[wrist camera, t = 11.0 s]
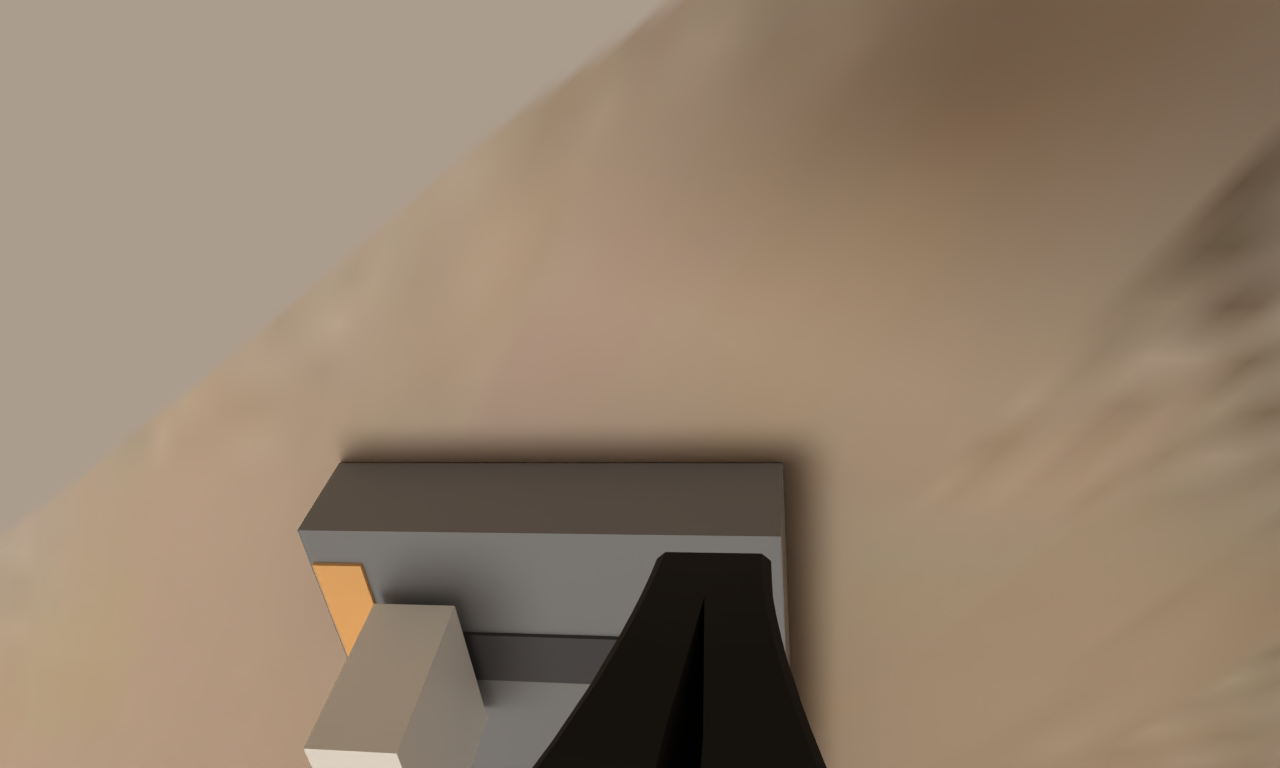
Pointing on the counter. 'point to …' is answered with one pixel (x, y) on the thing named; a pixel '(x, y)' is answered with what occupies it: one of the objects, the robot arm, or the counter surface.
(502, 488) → the board
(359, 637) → the block
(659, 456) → the counter surface
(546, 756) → the robot arm
